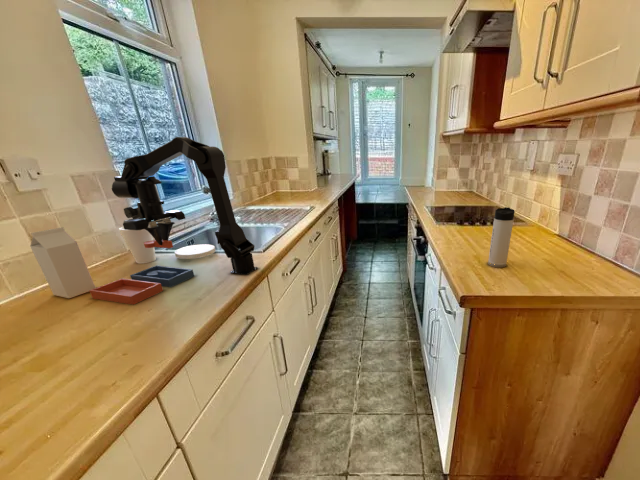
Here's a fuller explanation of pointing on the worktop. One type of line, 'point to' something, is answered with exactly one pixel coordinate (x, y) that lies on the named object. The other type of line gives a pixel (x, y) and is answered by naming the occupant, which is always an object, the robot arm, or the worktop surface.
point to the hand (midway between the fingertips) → (163, 244)
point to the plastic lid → (195, 251)
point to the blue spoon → (162, 274)
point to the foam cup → (139, 244)
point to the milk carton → (61, 262)
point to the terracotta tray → (126, 291)
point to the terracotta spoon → (154, 244)
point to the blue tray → (182, 276)
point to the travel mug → (501, 237)
